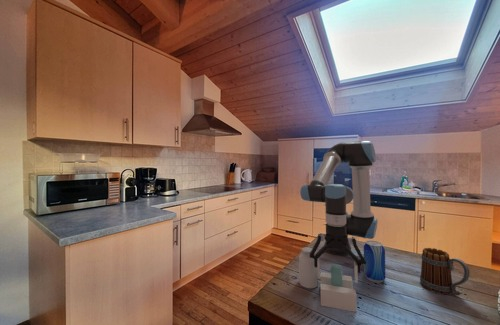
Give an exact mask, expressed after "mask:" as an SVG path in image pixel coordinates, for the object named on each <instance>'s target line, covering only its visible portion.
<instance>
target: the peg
mask: <svg viewBox="0 0 500 325" xmlns="http://www.w3.org/2000/svg"><path fill="white" fill-rule="evenodd" d="M330 273H331V285H332V286H338V287H342V275H343V268H342V266H341V265H339V264H331V265H330Z"/></svg>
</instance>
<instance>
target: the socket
mask: <svg viewBox="0 0 500 325" xmlns="http://www.w3.org/2000/svg"><path fill="white" fill-rule="evenodd" d="M319 279H320V306H323V307H328V308H332V309H333V308H334V309H338V310H343V311H344V310H345V311H348V312H349V311H350V312H355V313H357V310H358V309H357V307H358V306H357V304H358V303H357V292H356V289H355V288H353V278H352V276H351V275H345V274H344V275H343V274H342V287H338V286H332V285H331V272H330V273H329V272H324V271H320V277H319Z"/></svg>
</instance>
